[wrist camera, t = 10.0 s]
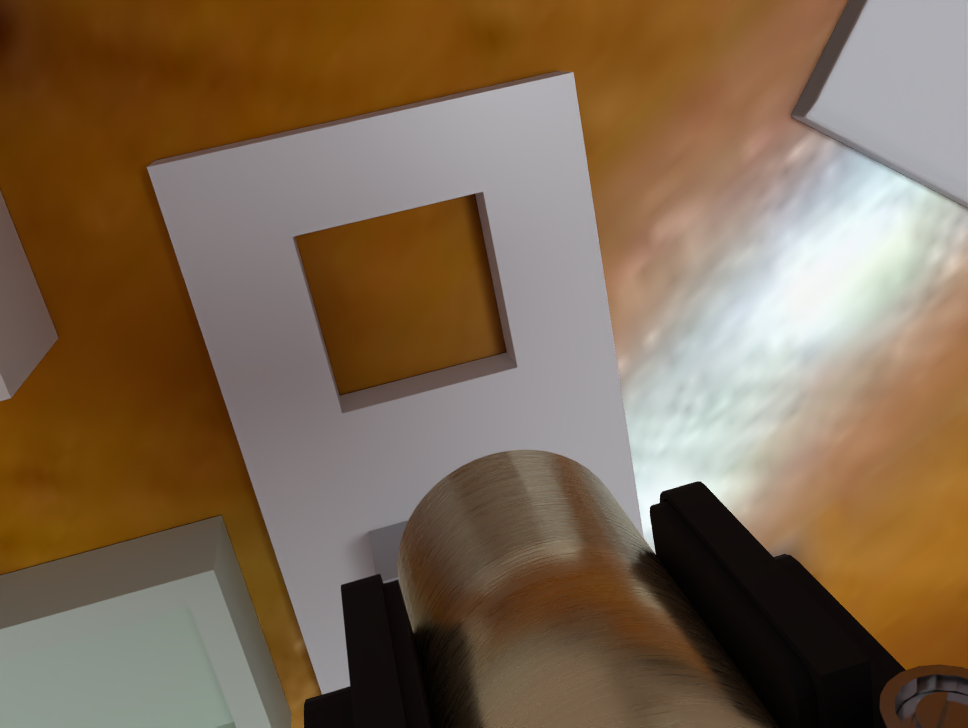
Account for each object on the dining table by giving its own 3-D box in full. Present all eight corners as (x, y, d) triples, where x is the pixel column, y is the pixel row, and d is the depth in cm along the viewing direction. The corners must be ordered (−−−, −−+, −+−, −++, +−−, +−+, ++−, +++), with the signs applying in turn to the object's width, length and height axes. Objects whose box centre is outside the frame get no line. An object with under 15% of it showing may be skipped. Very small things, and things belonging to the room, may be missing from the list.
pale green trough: (-164, 620, 28) (-220, 691, 25) (221, 515, 29) (213, 569, 26) (-53, 817, 31) (-91, 901, 28) (290, 713, 32) (291, 782, 29)
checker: (154, 160, 25) (128, 183, 21) (558, 70, 27) (608, 75, 22) (340, 728, 33) (348, 826, 29) (646, 634, 34) (696, 714, 30)
